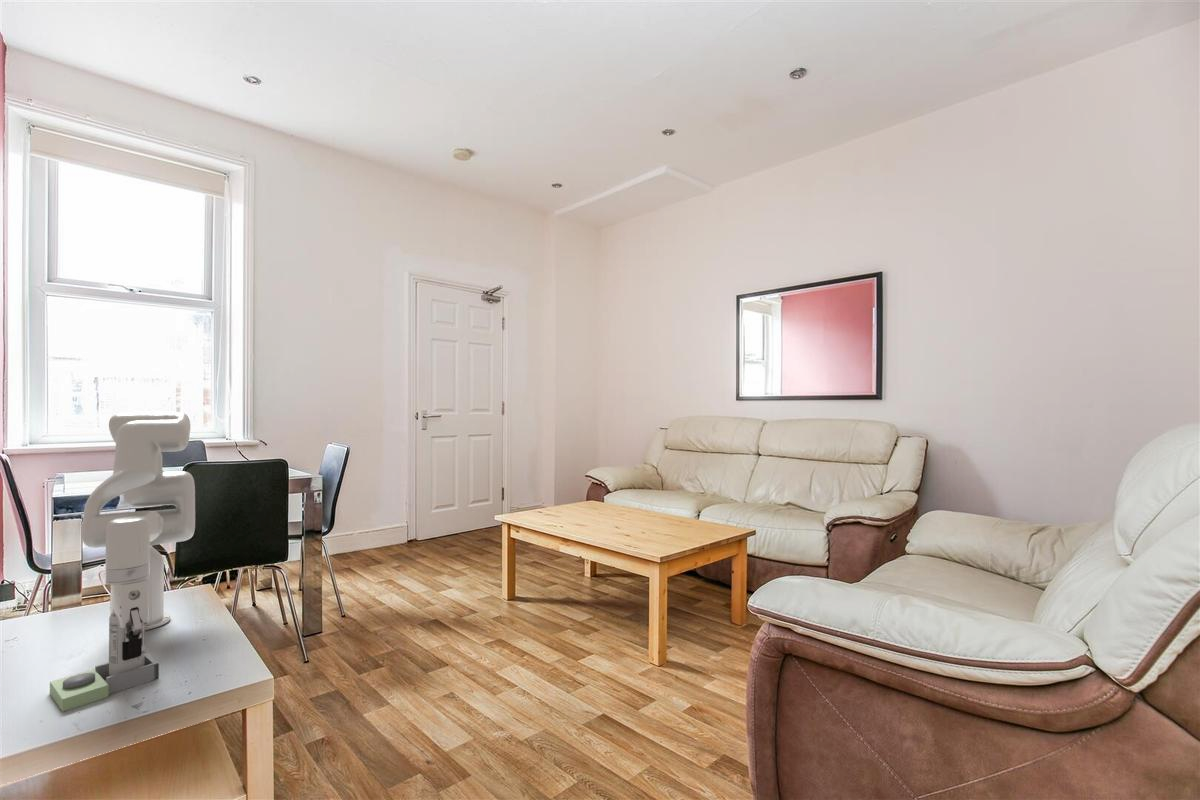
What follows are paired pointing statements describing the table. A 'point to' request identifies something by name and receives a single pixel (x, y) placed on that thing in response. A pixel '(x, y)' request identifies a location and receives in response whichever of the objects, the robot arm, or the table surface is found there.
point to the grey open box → (100, 683)
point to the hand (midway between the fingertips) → (127, 653)
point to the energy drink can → (115, 648)
